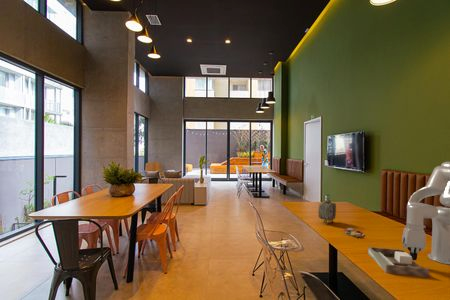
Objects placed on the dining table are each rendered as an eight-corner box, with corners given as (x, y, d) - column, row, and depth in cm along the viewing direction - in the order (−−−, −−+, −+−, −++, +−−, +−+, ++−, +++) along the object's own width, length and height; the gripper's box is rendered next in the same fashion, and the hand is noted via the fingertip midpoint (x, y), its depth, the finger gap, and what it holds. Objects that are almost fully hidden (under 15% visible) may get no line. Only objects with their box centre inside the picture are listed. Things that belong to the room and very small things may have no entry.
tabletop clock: (327, 226, 204) (328, 196, 204) (317, 223, 211) (318, 194, 210) (335, 222, 214) (336, 194, 213) (325, 220, 220) (326, 192, 220)
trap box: (403, 256, 149) (403, 250, 149) (428, 277, 126) (429, 269, 126) (367, 253, 153) (368, 246, 153) (386, 272, 129) (386, 265, 129)
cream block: (406, 259, 141) (406, 252, 141) (411, 264, 135) (412, 257, 135) (394, 258, 142) (394, 251, 142) (399, 262, 136) (400, 255, 136)
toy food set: (358, 239, 177) (358, 234, 177) (340, 233, 188) (340, 229, 188) (366, 235, 185) (366, 231, 185) (349, 230, 196) (349, 226, 195)
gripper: (425, 225, 140) (423, 257, 140) (396, 223, 142) (395, 254, 142) (434, 230, 132) (432, 263, 133) (403, 227, 135) (402, 260, 135)
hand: (413, 259), depth 138 cm, fingers closed
